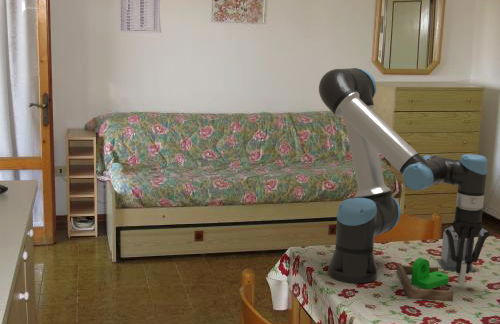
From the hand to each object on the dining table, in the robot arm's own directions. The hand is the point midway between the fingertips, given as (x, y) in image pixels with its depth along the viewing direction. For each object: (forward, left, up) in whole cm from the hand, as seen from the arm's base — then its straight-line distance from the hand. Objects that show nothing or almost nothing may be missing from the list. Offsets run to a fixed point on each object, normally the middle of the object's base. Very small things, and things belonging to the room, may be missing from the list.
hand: (460, 283), depth 200 cm
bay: (-11, 0, -1) cm, 11 cm away
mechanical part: (-8, +2, -2) cm, 9 cm away
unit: (+3, +20, -1) cm, 20 cm away
